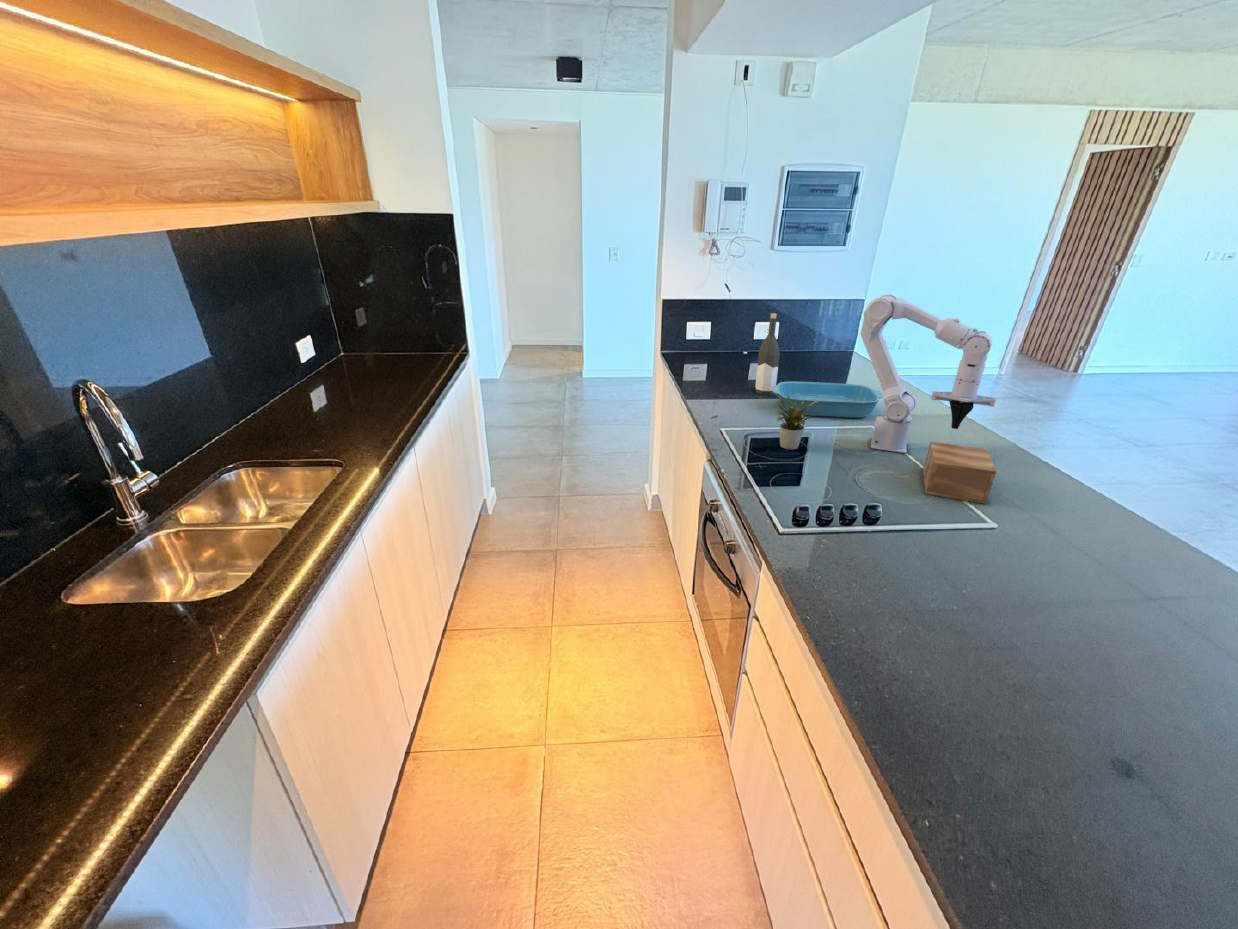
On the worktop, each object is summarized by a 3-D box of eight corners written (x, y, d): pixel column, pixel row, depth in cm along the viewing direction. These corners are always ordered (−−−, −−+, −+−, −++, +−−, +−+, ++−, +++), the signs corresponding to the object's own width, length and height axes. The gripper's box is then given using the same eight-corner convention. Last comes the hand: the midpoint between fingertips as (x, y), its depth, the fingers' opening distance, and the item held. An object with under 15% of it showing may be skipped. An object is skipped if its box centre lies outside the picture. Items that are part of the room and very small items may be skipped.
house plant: (751, 445, 158) (757, 393, 151) (773, 433, 167) (780, 383, 160) (796, 459, 149) (804, 403, 142) (817, 445, 158) (826, 392, 152)
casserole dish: (771, 416, 182) (774, 396, 179) (768, 397, 202) (770, 378, 199) (885, 423, 175) (890, 402, 172) (870, 402, 195) (874, 384, 192)
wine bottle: (778, 390, 209) (787, 313, 197) (771, 396, 203) (781, 316, 190) (758, 387, 213) (766, 311, 201) (751, 392, 207) (759, 314, 194)
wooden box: (922, 470, 142) (930, 441, 138) (977, 479, 137) (987, 449, 133) (925, 493, 130) (934, 462, 126) (985, 504, 125) (996, 471, 121)
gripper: (937, 380, 139) (925, 428, 145) (1003, 386, 133) (987, 436, 139) (935, 373, 145) (924, 420, 150) (998, 379, 139) (983, 427, 145)
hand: (954, 427), depth 145 cm, fingers closed
